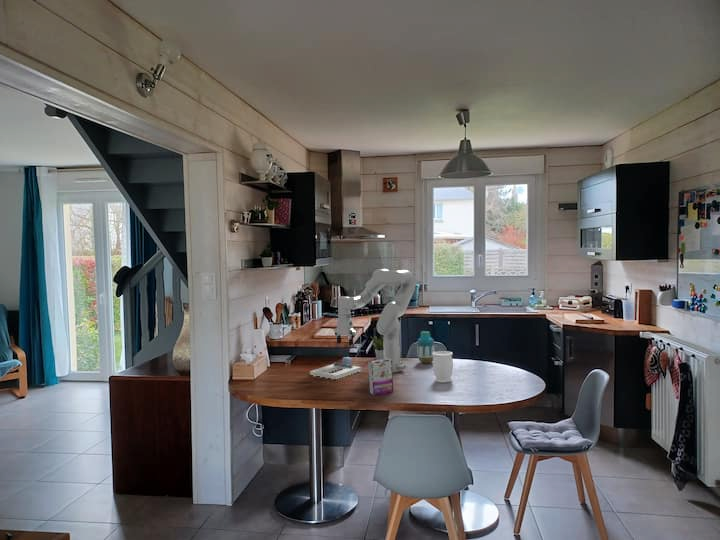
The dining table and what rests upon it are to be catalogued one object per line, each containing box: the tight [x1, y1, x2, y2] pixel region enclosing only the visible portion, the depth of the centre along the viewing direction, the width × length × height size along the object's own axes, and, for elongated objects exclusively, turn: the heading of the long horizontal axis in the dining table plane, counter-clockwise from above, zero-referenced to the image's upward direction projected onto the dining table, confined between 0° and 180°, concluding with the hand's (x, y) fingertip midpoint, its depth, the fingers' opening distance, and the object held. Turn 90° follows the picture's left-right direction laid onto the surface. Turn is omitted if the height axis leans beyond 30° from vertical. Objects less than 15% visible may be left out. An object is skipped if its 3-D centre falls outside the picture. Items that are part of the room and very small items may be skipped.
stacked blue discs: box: [342, 356, 352, 365], centre depth 305 cm, size 5×5×6 cm
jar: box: [432, 350, 454, 384], centre depth 262 cm, size 11×10×15 cm
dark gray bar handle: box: [332, 362, 354, 368], centre depth 294 cm, size 14×2×2 cm, turn 51°
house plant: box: [371, 335, 384, 360], centre depth 321 cm, size 14×14×16 cm
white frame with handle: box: [309, 363, 362, 380], centre depth 289 cm, size 20×22×2 cm
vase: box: [416, 330, 436, 364], centre depth 305 cm, size 11×11×19 cm
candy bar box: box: [367, 358, 394, 396], centre depth 246 cm, size 11×5×16 cm, turn 114°
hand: (345, 344), depth 304 cm, fingers open, 9 cm apart
